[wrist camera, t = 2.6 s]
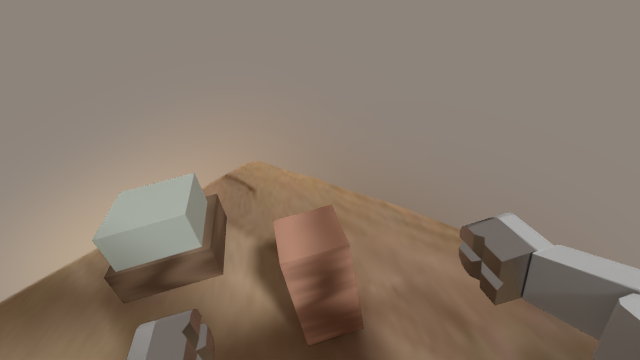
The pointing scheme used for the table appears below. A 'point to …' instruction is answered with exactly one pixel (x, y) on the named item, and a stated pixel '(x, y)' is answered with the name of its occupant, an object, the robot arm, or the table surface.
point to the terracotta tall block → (319, 273)
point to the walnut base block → (177, 262)
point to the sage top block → (153, 222)
